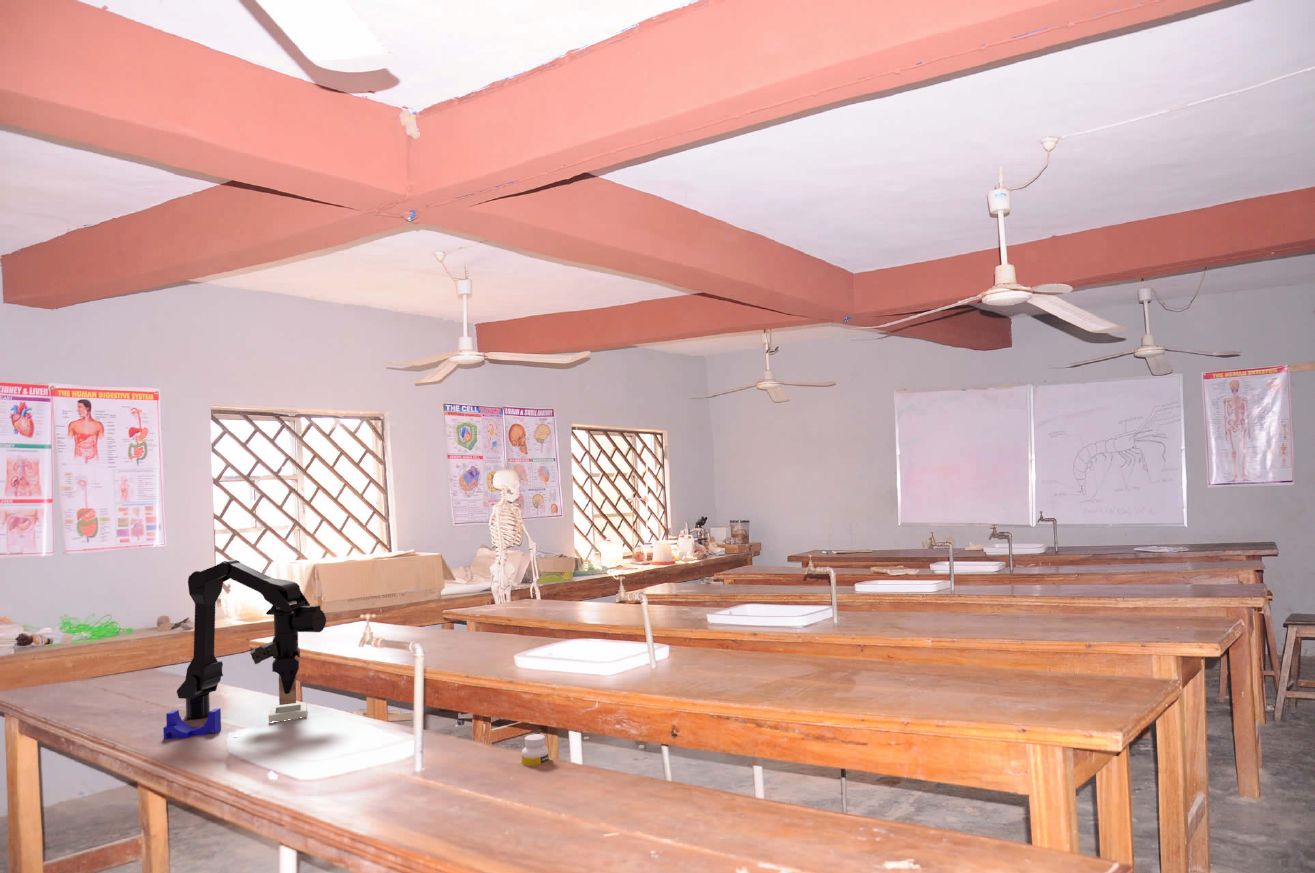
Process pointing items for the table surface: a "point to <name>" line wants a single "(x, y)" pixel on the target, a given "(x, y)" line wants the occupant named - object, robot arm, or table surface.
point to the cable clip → (182, 730)
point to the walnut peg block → (289, 697)
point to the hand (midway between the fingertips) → (287, 691)
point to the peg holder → (287, 712)
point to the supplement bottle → (535, 750)
